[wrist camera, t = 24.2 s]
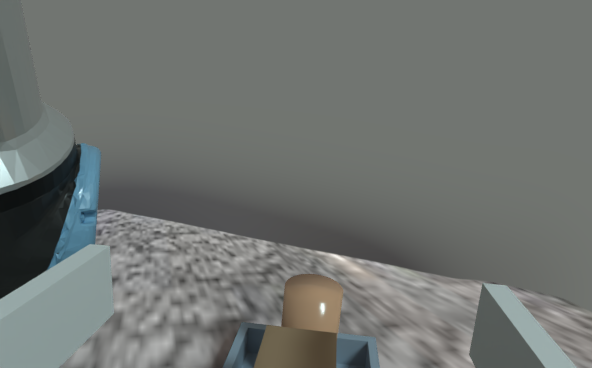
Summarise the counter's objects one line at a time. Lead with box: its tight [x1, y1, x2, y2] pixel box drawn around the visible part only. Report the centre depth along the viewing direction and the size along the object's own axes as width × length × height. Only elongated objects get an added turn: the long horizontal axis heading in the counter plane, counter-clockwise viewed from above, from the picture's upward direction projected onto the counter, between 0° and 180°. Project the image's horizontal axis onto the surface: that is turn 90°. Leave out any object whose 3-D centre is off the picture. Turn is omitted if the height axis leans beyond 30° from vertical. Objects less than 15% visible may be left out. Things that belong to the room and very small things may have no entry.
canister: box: [281, 274, 343, 336], centre depth 34 cm, size 5×5×10 cm
